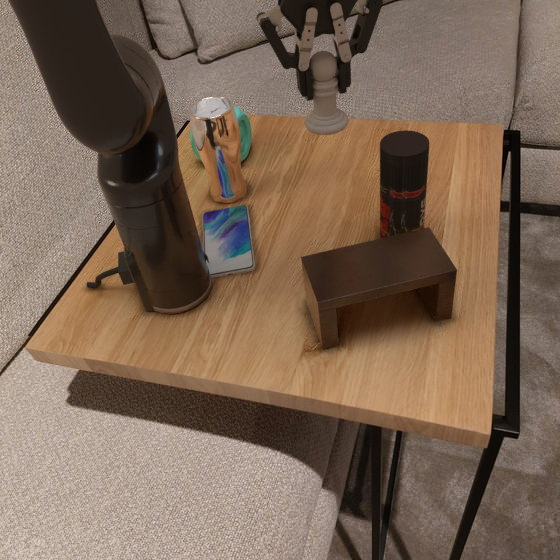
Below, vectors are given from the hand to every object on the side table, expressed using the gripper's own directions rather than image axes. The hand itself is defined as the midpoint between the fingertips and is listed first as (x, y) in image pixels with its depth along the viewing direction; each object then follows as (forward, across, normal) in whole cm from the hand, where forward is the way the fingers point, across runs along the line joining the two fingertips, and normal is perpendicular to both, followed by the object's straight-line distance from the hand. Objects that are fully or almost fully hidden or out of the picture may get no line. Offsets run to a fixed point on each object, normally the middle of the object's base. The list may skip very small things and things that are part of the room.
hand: (324, 93), depth 68 cm
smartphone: (+23, +15, -5) cm, 27 cm away
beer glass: (+22, +12, -17) cm, 31 cm away
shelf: (+22, -1, +15) cm, 27 cm away
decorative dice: (+22, +11, -28) cm, 38 cm away
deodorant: (+22, -9, +3) cm, 24 cm away
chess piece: (+4, 0, 0) cm, 4 cm away
